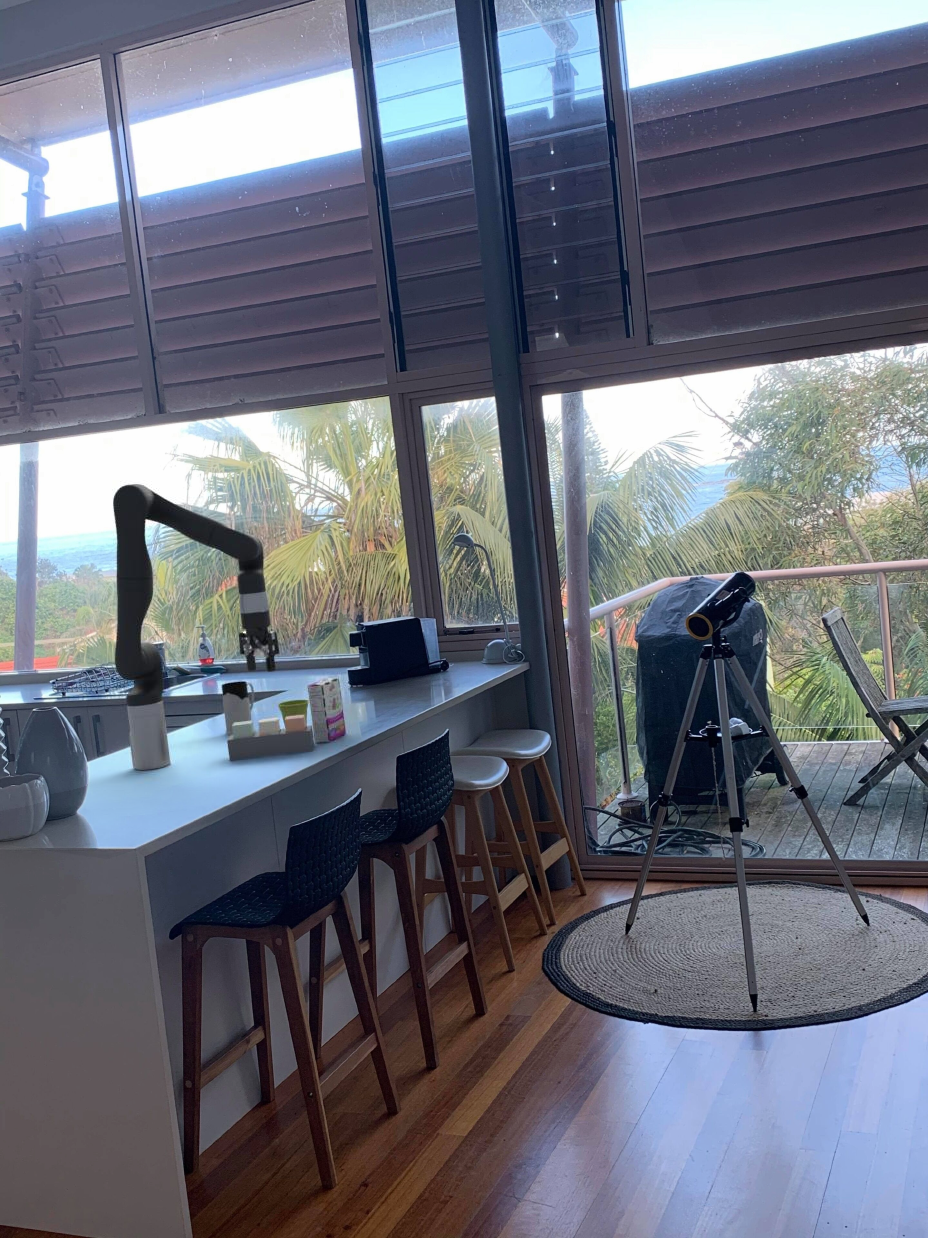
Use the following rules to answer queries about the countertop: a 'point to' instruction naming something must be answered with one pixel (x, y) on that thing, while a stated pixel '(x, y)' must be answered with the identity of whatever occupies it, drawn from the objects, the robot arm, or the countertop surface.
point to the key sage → (243, 729)
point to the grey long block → (270, 744)
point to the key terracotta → (295, 723)
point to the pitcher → (236, 703)
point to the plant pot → (294, 708)
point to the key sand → (269, 726)
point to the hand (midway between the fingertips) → (261, 670)
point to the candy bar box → (326, 710)
